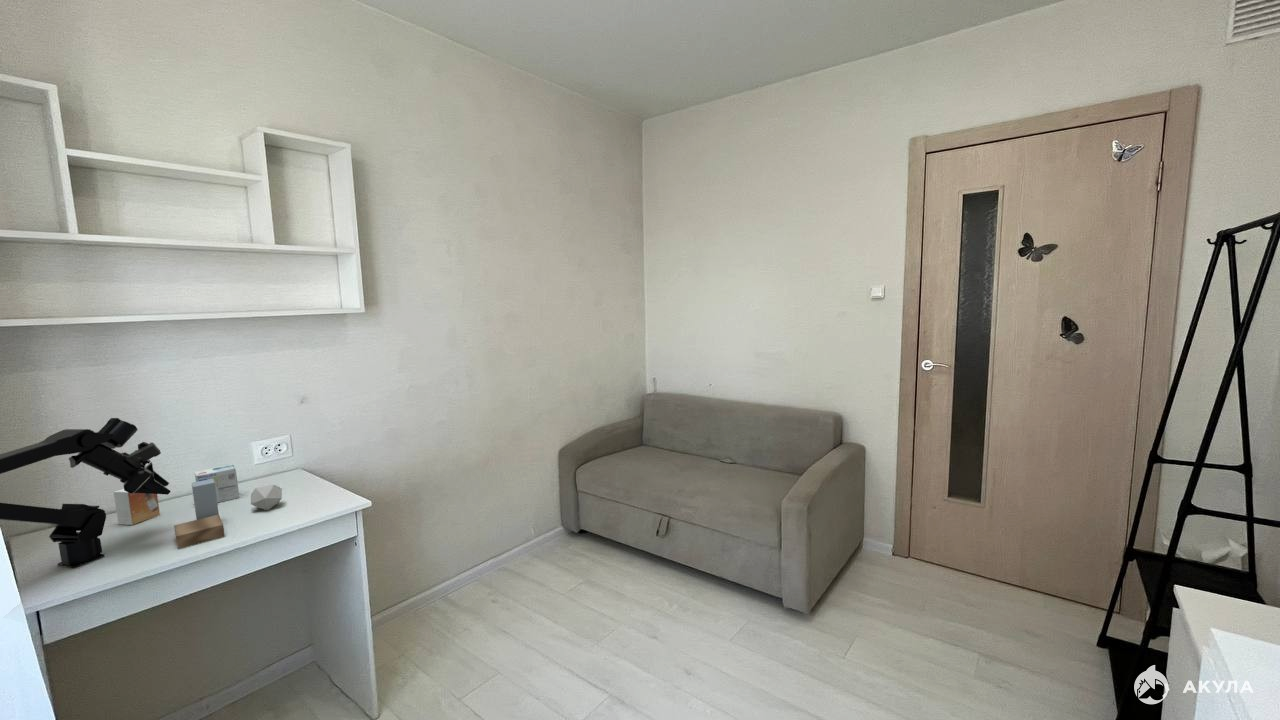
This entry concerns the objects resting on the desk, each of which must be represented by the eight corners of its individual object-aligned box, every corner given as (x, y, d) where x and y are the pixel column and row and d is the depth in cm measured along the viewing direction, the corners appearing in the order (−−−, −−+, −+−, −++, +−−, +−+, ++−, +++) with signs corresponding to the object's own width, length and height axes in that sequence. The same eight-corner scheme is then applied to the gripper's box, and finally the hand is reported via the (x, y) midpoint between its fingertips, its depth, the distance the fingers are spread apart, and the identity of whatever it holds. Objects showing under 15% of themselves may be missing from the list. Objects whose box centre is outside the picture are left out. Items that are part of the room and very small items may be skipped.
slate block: (198, 529, 154) (192, 487, 153) (197, 523, 158) (191, 482, 156) (219, 523, 158) (214, 482, 156) (218, 518, 161) (212, 478, 160)
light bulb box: (237, 492, 183) (233, 463, 182) (240, 497, 178) (236, 467, 177) (197, 501, 175) (193, 470, 174) (199, 507, 171) (195, 475, 169)
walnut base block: (178, 550, 142) (176, 536, 142) (175, 538, 149) (174, 525, 149) (224, 537, 149) (223, 524, 149) (220, 527, 156) (218, 514, 156)
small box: (132, 525, 157) (126, 492, 156) (117, 524, 159) (112, 491, 157) (161, 514, 165) (156, 483, 164) (147, 513, 166) (142, 482, 165)
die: (289, 507, 171) (287, 479, 175) (268, 504, 163) (266, 475, 167) (266, 516, 171) (265, 488, 175) (244, 513, 163) (243, 484, 167)
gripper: (134, 442, 138) (194, 472, 147) (134, 430, 152) (189, 458, 161) (96, 479, 134) (160, 507, 143) (100, 463, 147) (158, 489, 156)
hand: (168, 488), depth 151 cm, fingers open, 9 cm apart
